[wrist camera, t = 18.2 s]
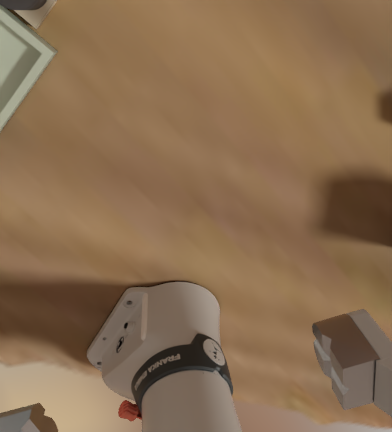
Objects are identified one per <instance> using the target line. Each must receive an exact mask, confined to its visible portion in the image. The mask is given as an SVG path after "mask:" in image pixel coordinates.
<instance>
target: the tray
mask: <svg viewBox="0 0 392 432" xmlns="http://www.w3.org/2000/svg"><path fill="white" fill-rule="evenodd" d="M57 52H58V51H57V50H56V49H54V48H53V47H52V46H51V45H50V44H48V43H47V42H46V41H45V40H44V39H42V38H41V37H40V36H39V35H38V34H36V33H35V32H34V31H33V30H32V29H30V28H29V27H28V26H27V25H26V24H24V23H23V22H22V21H21V20H20V19H18V18H17V17H16V16H15V15H14V14H12V13H11V12H10V11H9V10H8V9H6V8H5V7H3V6H1V5H0V132H1V130H2V129H3V128H4V126H5V125H6V123H7V122H8V120H9V119H10V118H11V116H12V115H13V113H14V112H15V111H16V109H17V108H18V106H19V105H20V104H21V102H22V101H23V99H24V98H25V97H26V95H27V94H28V92H29V91H30V90H31V88H32V87H33V85H34V84H35V83H36V81H37V80H38V78H39V77H40V75H41V74H42V73H43V71H44V70H45V68H46V67H47V66H48V64H49V63H50V61H51V60H52V59H53V57H54V56H55V54H56V53H57Z"/></svg>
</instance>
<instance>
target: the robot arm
mask: <svg viewBox="0 0 392 432" xmlns="http://www.w3.org/2000/svg"><path fill="white" fill-rule="evenodd" d="M128 301H131V302H128ZM219 317H220V308H219V304H218V302H217V300H216V298H215V297H214V295H213V294H212V293H211V292H209V291H208V290H207V289H205V288H203V287H201V286H199V285H196V284H193V283H188V282H170V283H165V284H161V285H157V286H154V287H132V288H129V289H127V290H126V291H125V292H124V294H123V295H122V297H121V299H120V300H119V302H118V303H117V305H116V306H115V308H114V309H113V311H112V312H111V314H110V316H109V317H108V319H107V320H106V322H105V323H104V325H103V326H102V328H101V330H100V331H99V333H98V334H97V336H96V337H95V339H94V340H93V342H92V343H91V345H90V347H89V348H88V350H87V358H88V360H89V361H90V362H91V364H92V365H93V366H94V367H96V368H97V369H98V370H100V371H101V372H102V378H103V380H104V382H105V384H106V385H107V386H108V387H109V388H110V389H111V390H113V391H114V392H116V393H117V394H119V395H121V396H123V397H126V398H128V399H131V400H133V401H135V402H136V404H132V403H131V402H129V401H127V400H125V401H123V402H122V404H121V405H120V408H119V412H118V413H119V416H120V418H124V419H128V420H129V421H133V420H135V419H136V418H139V419H141V420H142V432H242V429H241V426H240V423H239V419H238V416H237V413H236V409H235V406H234V402H233V399H232V394H233V386H232V382H231V378H230V373H229V370H228V366H227V362H226V359H225V357H224V354H223V351H222V349H221V344H220V332H219ZM312 328H313V333H314V335H315V337H316V340H315V341H314V349H315V353H316V356H317V360H318V362H319V364H320V366H321V368H322V370H323V372H324V374H325V375H326V376H328V377H330V378H331V379H332V389H333V391H334V393H335V395H336V397H337V398H338V400H339V402H340V404H341V406H342V408H343V409H344V410H347V409H351V408H354V407H358V406H362V405H366V404H370V403H373V402H374V404H375V405H376V406H377V407H379V408H380V409H381V410H383V411H384V412H386V413H387V414H388V415H390V416H391V417H392V342H391V341H390V340H389V338H388V337H387V336H386V335H385V333H384V332H383V331H382V329H381V328H380V327H379V326H378V324H377V323H376V322H375V321H374V319H373V318H372V317H371V316H370V314H369V313H368V312H367V311H366V310H364V309H360V310H357V311H354V312H350V313H347V314H342V315H339V316H335V317H332V318H329V319H326V320H322V321H319V322H316V323H313V326H312ZM44 411H45V409H44V408H43V406H42V405H41V404H40V403H37V404H34V405H30V406H27V407H22V408H18V409H15V410H10V411H7V412H3V413H0V432H58V429H57V426H56V424H55V422H54V421H53V419H52V418H50V417H47V416H44Z"/></svg>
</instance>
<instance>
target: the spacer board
mask: <svg viewBox="0 0 392 432" xmlns="http://www.w3.org/2000/svg"><path fill="white" fill-rule="evenodd" d="M56 1H57V0H0V5H1V6H3V7H5V8H7V9H11V10H14V11H15V12H16V13H18V14H19V15H20V16H21V17H22V18H24V19H25V20H26V21H27V22H28V23H30V24H31V25H32V26H33V27H34V28H35V29H37V28H39V26H40V25H41V23H42V22H43V20H44V19H45V17H46V16H47V15H48V13H49V12H50V10H51V9H52V7H53V6H54V4H55V3H56Z"/></svg>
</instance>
